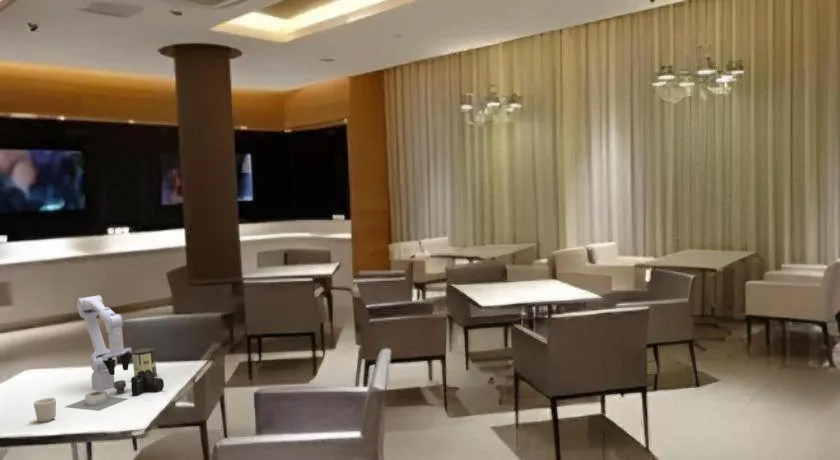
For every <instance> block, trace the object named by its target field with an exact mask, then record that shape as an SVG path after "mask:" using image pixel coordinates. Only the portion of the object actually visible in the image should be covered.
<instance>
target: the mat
mask: <svg viewBox="0 0 840 460" xmlns="http://www.w3.org/2000/svg"><path fill="white" fill-rule="evenodd" d="M107 400H108V401H107V402H106V403H104V404H101V405H97V406H87V405H86V401H85V398H84V399H81V400H80V401H76V402H74V403H71V404H69V405H66V406H64V408H69V409H79V410H88V411H98V412H100V411H102V410H104V409H105V410H106V409H107V408H109V407H110V408H111V406H114V405H117V404H120V403H121V402H124V401H127V400H128V398H124V397H114V396H112V397H111V396H107Z"/></svg>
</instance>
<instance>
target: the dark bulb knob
mask: <svg viewBox="0 0 840 460" xmlns="http://www.w3.org/2000/svg"><path fill="white" fill-rule="evenodd" d="M126 384H127V383H126V380H124V379H123V380H122V379H121V380H116V381H114V388H113V389H114V390H116V395H123V394H125V388H126V387H127V385H126Z"/></svg>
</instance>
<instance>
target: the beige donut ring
mask: <svg viewBox="0 0 840 460" xmlns="http://www.w3.org/2000/svg"><path fill="white" fill-rule="evenodd" d="M107 397H108V392H107V390H96V391H91V392H89V393H86V394H85V395H84V399H85V401H86V405H87V406H97V405H101V404H104V403H106V402H107V401H108V400H107Z"/></svg>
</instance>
